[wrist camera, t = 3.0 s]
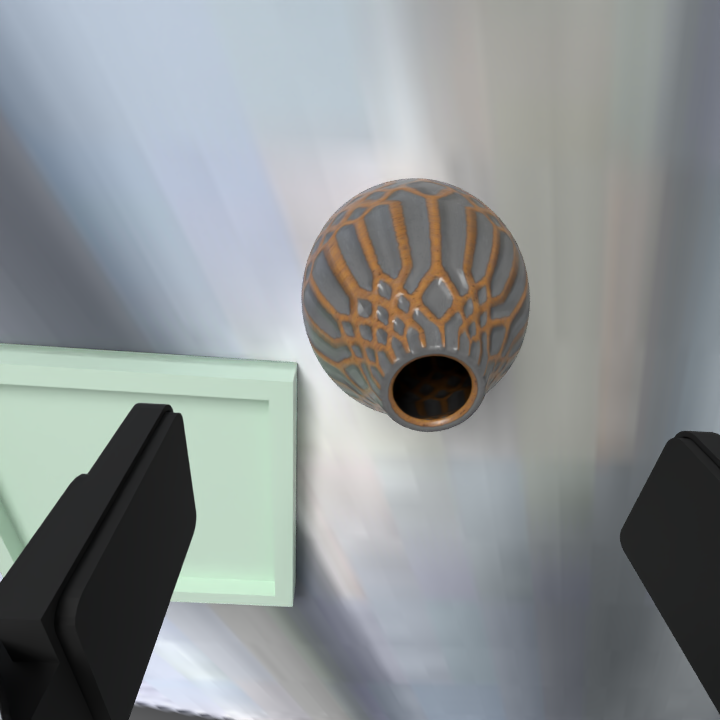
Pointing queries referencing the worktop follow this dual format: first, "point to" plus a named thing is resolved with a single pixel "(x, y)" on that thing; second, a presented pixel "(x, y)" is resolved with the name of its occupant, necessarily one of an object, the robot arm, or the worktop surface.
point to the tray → (204, 444)
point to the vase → (416, 301)
